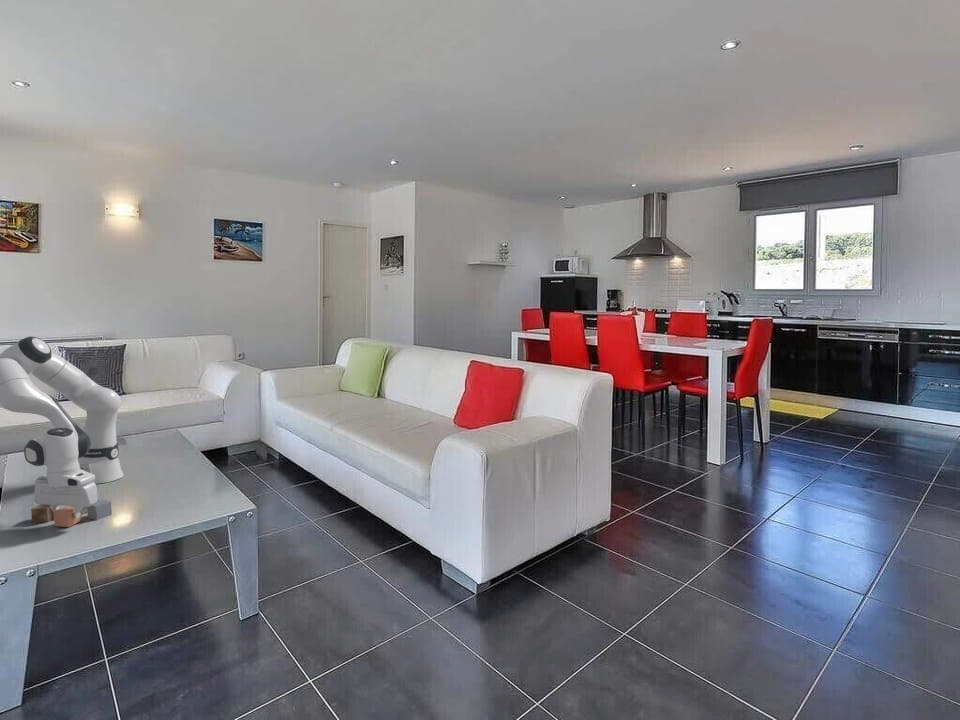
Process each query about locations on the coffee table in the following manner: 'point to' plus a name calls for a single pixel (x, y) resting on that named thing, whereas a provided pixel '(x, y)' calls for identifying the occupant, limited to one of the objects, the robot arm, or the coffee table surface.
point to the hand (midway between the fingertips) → (67, 517)
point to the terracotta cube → (65, 516)
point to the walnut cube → (42, 514)
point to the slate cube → (99, 509)
